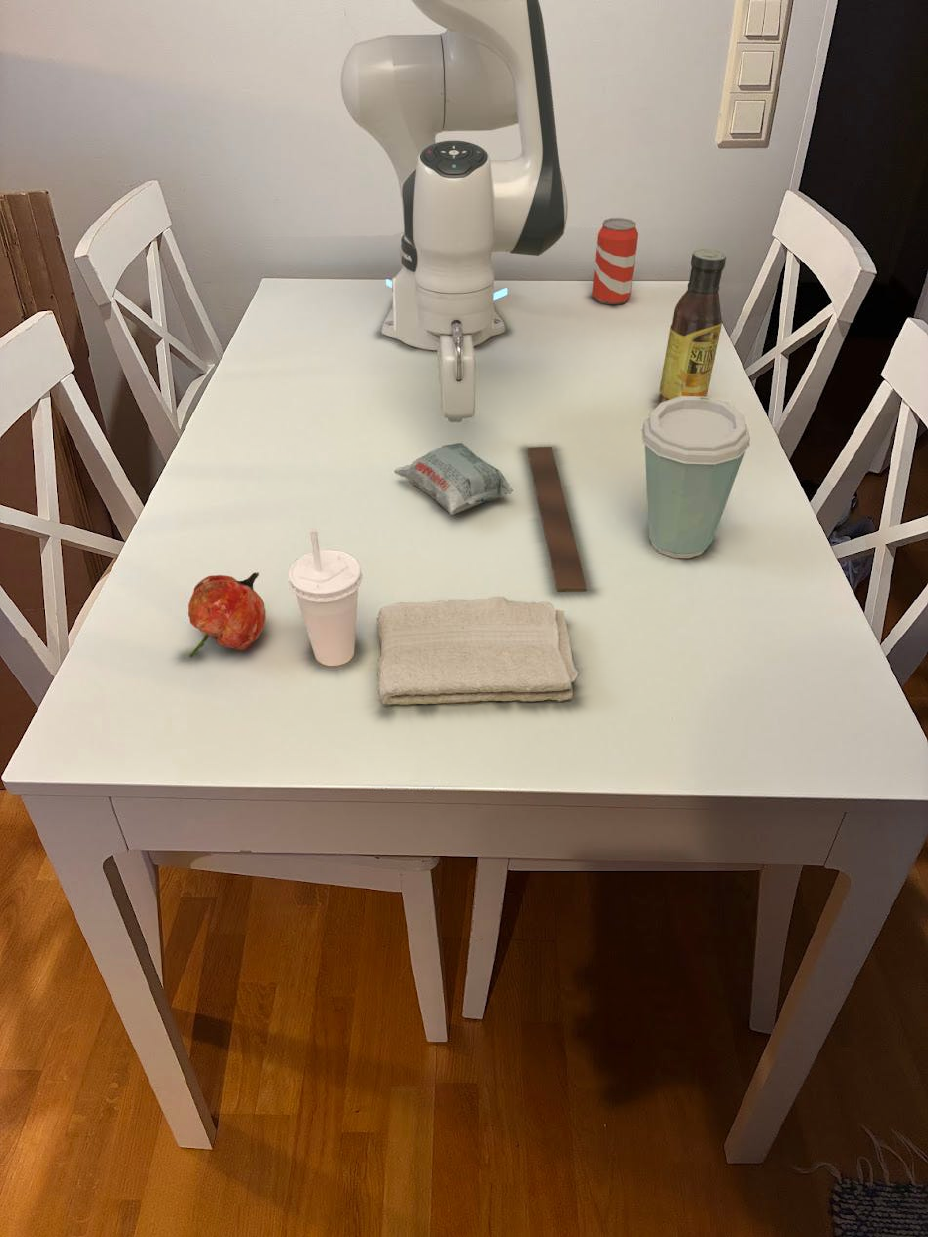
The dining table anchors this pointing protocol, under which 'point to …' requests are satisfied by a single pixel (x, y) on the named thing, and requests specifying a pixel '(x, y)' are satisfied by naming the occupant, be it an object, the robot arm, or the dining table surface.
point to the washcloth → (473, 652)
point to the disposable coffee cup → (690, 470)
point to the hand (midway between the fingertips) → (454, 416)
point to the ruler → (556, 521)
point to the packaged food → (456, 478)
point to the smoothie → (328, 600)
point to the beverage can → (615, 261)
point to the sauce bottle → (694, 330)
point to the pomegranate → (227, 611)
